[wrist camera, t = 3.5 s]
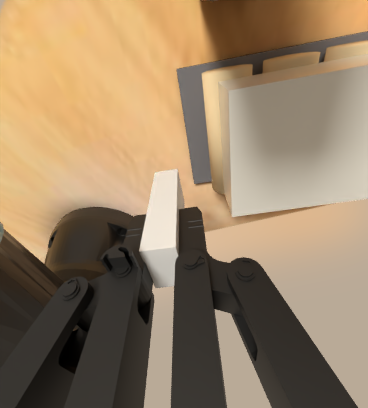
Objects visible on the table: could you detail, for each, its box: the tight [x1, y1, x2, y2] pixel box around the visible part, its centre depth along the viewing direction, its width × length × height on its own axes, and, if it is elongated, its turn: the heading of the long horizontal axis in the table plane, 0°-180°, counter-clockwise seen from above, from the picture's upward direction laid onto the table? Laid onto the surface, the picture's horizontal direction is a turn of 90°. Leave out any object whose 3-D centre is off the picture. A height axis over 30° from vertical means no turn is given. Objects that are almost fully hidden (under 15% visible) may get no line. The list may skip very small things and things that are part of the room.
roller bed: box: [177, 31, 368, 194], centre depth 19 cm, size 27×12×5 cm, turn 99°
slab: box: [218, 54, 368, 217], centre depth 16 cm, size 12×10×4 cm
